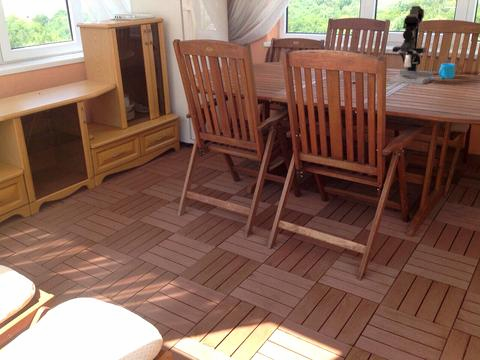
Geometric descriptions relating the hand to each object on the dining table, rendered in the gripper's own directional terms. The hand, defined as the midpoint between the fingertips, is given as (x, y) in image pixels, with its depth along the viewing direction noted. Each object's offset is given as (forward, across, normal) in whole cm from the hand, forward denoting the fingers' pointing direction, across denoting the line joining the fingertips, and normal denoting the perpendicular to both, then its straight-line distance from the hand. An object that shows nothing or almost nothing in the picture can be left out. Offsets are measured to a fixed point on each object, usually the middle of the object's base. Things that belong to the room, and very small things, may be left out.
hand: (407, 64), depth 305 cm
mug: (+10, +18, +17) cm, 27 cm away
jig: (+10, +3, 0) cm, 10 cm away
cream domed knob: (+2, 0, 0) cm, 2 cm away
